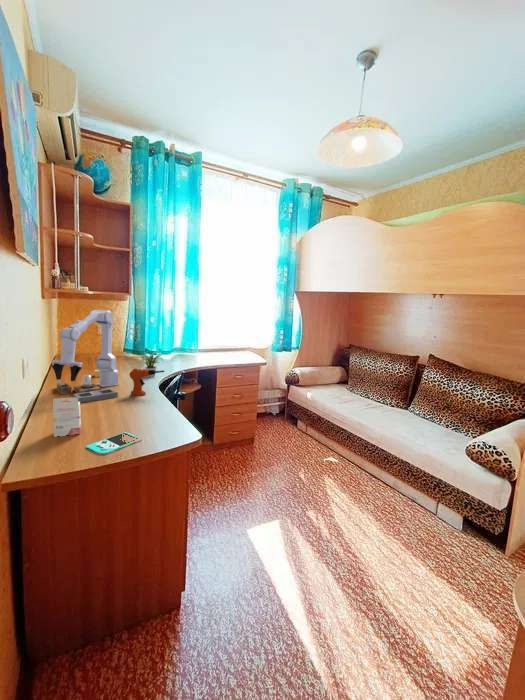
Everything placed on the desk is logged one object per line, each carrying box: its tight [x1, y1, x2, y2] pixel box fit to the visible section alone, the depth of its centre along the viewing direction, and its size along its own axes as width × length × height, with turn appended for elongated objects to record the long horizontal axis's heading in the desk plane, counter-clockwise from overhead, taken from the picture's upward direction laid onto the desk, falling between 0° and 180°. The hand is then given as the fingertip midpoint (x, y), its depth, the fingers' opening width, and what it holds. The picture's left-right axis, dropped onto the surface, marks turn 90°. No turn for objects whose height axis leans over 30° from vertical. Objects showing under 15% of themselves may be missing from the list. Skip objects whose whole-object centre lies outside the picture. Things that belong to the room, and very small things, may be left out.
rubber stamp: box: [94, 369, 100, 378], centre depth 205 cm, size 10×6×12 cm, turn 117°
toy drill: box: [128, 368, 165, 397], centre depth 173 cm, size 5×19×15 cm, turn 100°
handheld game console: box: [85, 431, 138, 453], centre depth 115 cm, size 10×16×1 cm, turn 148°
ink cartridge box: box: [52, 397, 82, 438], centre depth 120 cm, size 9×5×15 cm, turn 114°
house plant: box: [142, 352, 160, 378], centre depth 211 cm, size 14×14×16 cm
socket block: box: [73, 383, 102, 394], centre depth 172 cm, size 10×10×2 cm
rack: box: [73, 388, 119, 404], centre depth 163 cm, size 18×8×2 cm, turn 136°
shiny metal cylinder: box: [82, 374, 92, 389], centre depth 171 cm, size 4×4×9 cm
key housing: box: [56, 382, 72, 395], centre depth 169 cm, size 4×10×4 cm, turn 46°
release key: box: [56, 380, 66, 387], centre depth 173 cm, size 2×9×2 cm, turn 46°
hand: (65, 380), depth 155 cm, fingers open, 7 cm apart
